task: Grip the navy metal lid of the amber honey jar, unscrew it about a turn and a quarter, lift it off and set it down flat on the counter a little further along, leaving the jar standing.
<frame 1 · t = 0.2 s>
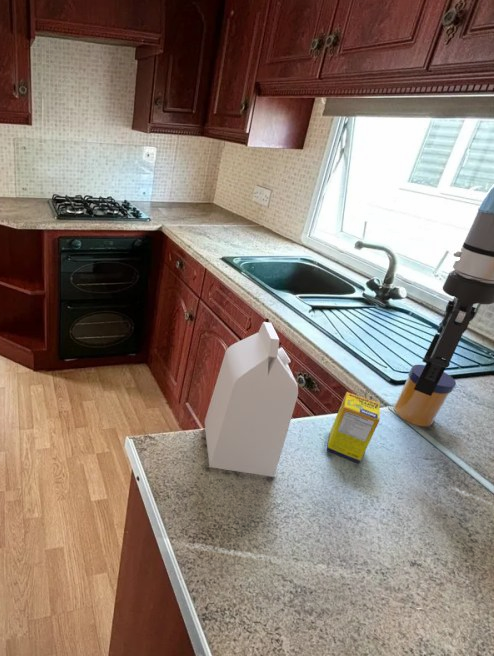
hand: (426, 377, 79), 15 cm above the countertop, tool pointing down, fingers open, 13 cm apart
supplement box: (342, 448, 81), on the countertop
milk: (236, 448, 78), on the countertop
lid: (432, 376, 88), point 11 cm above the countertop, screwed on, not yet turned
jar: (412, 414, 92), on the countertop
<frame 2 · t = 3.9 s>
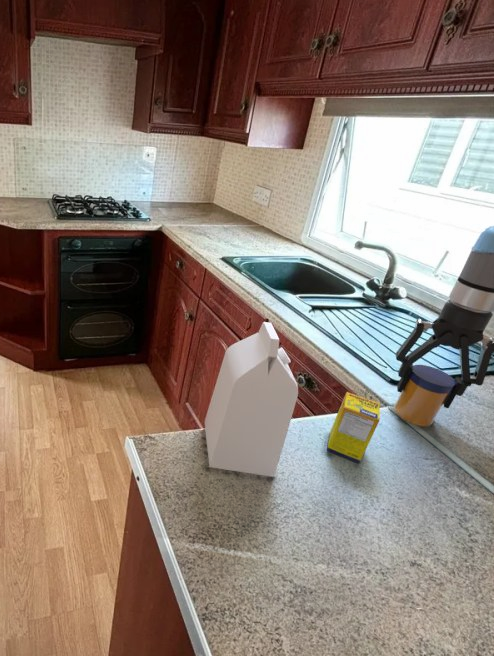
hand: (421, 396, 90), 5 cm above the countertop, tool pointing down, fingers closed on lid, 8 cm apart
lid: (432, 376, 88), point 11 cm above the countertop, screwed on, not yet turned, touching gripper
everything else where it was.
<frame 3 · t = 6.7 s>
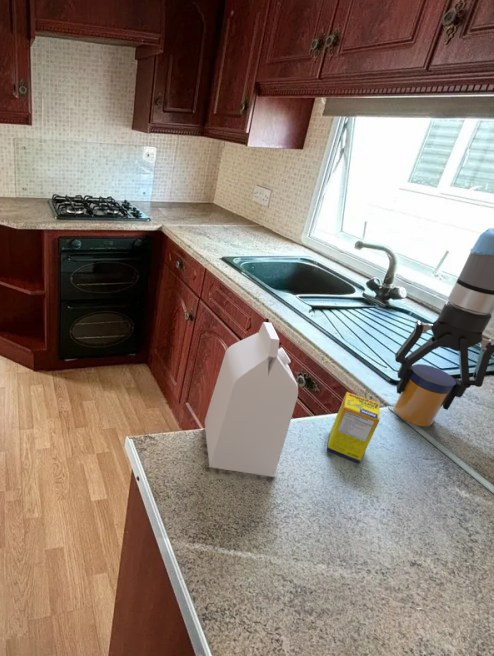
hand: (421, 398, 90), 5 cm above the countertop, tool pointing down, fingers closed on lid, 8 cm apart
lid: (432, 376, 88), point 11 cm above the countertop, turned 83° so far, risen 0.1 cm, still on its thread, touching gripper
everything else where it was.
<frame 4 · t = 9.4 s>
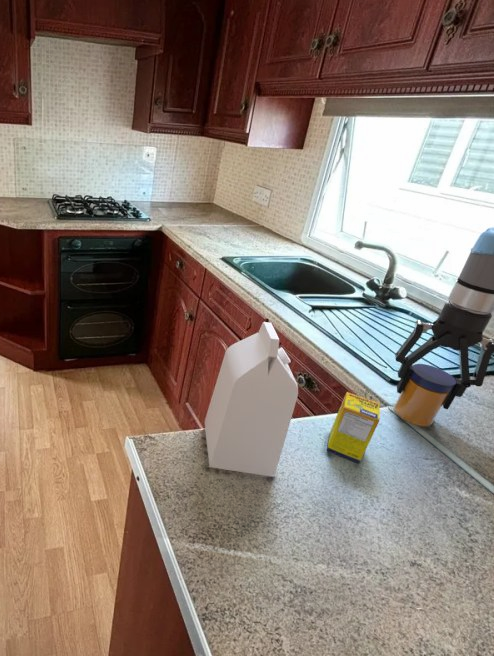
hand: (421, 397, 90), 5 cm above the countertop, tool pointing down, fingers closed on lid, 8 cm apart
lid: (432, 376, 88), point 11 cm above the countertop, turned 165° so far, risen 0.2 cm, still on its thread, touching gripper
everything else where it was.
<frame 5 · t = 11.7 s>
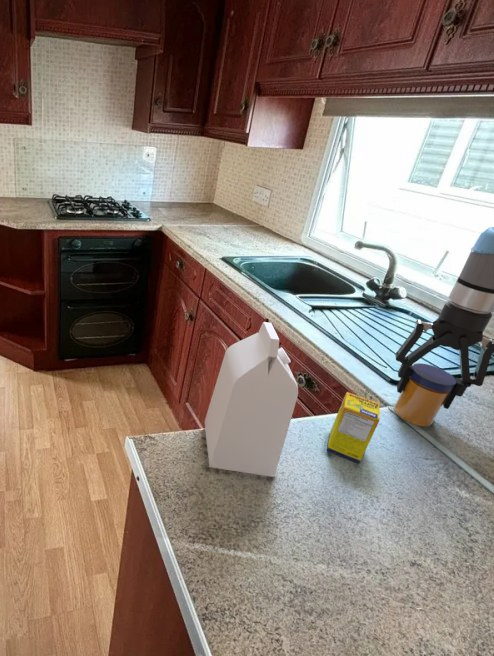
hand: (421, 397, 90), 5 cm above the countertop, tool pointing down, fingers closed on lid, 8 cm apart
lid: (433, 375, 88), point 11 cm above the countertop, turned 248° so far, risen 0.3 cm, still on its thread, touching gripper
everything else where it was.
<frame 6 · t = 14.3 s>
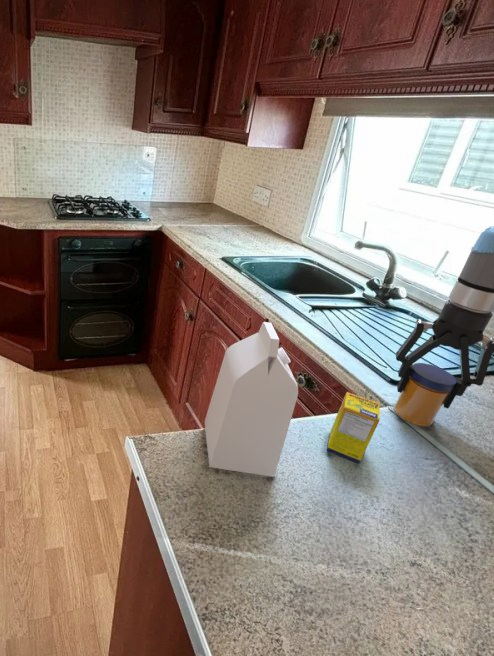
hand: (421, 396, 90), 5 cm above the countertop, tool pointing down, fingers closed on lid, 8 cm apart
lid: (433, 375, 87), point 11 cm above the countertop, turned 331° so far, risen 0.5 cm, still on its thread, touching gripper
everything else where it was.
when the fingers open (2 cm above the countertop, at t = 22.6 s): lid drops 6 cm, point 1 cm above the countertop.
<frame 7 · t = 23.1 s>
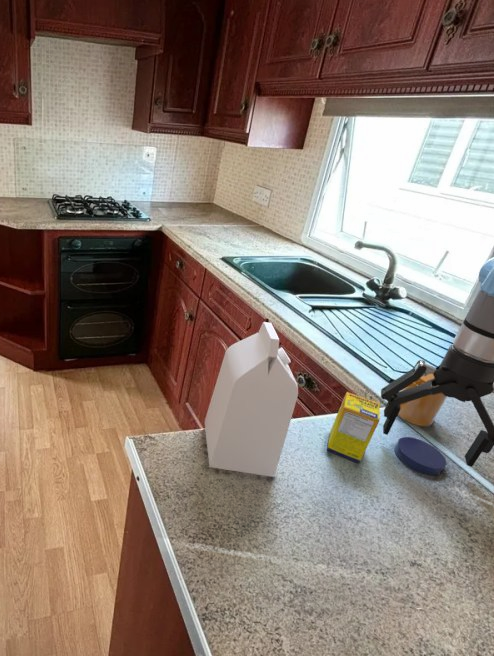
hand: (425, 445, 78), 4 cm above the countertop, tool pointing down, fingers open, 13 cm apart
lid: (420, 453, 79), point 1 cm above the countertop, off its thread
everything else where it was.
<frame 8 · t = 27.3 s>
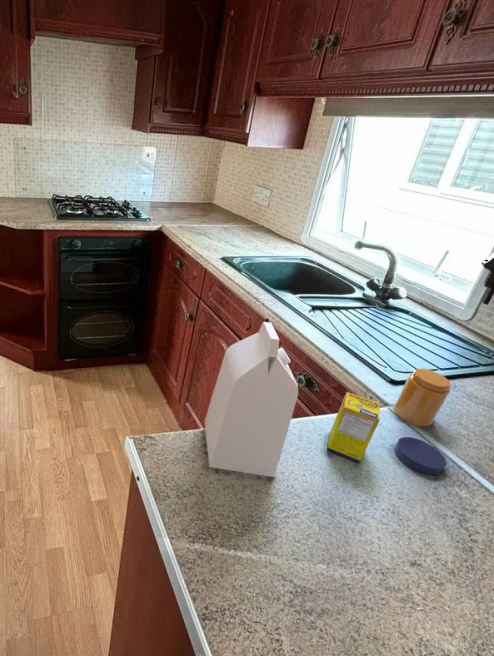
nothing on the countertop moved.
at the end: the gripper is holding nothing; lid inside the target area (0.0 cm from its centre), point 1.4 cm above the countertop; jar tilted 0° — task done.
